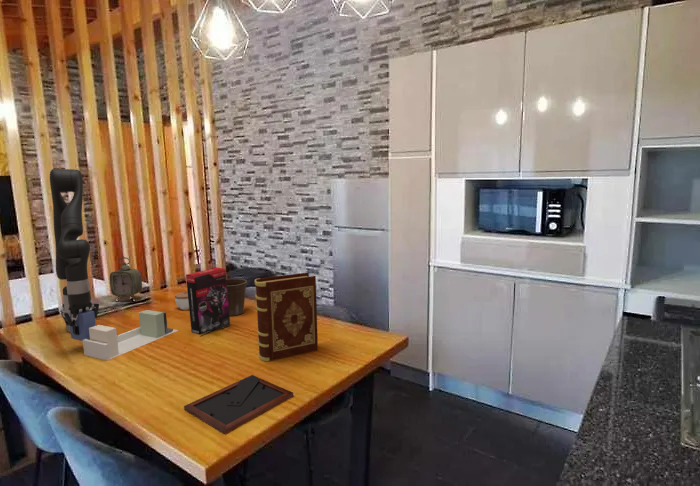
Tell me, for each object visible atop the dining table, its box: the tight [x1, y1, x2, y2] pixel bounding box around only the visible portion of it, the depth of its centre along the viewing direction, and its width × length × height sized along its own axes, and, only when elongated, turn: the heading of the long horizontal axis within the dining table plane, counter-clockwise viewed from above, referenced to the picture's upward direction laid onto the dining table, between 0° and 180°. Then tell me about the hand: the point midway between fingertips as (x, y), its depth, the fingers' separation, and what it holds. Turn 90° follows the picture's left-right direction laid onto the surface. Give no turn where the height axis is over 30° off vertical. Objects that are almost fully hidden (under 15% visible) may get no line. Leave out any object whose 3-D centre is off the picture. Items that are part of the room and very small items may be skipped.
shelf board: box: [82, 326, 179, 361], centre depth 174 cm, size 13×34×7 cm, turn 155°
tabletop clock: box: [109, 256, 143, 298], centre depth 238 cm, size 14×9×25 cm, turn 80°
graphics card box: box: [185, 267, 231, 337], centre depth 187 cm, size 17×7×27 cm, turn 147°
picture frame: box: [183, 374, 294, 435], centre depth 127 cm, size 20×2×25 cm
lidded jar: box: [174, 290, 189, 311], centre depth 223 cm, size 11×11×9 cm
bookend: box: [151, 309, 174, 333], centre depth 185 cm, size 9×4×9 cm, turn 65°
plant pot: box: [226, 278, 248, 317], centre depth 213 cm, size 16×16×16 cm
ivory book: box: [89, 324, 119, 358], centre depth 161 cm, size 10×4×10 cm, turn 65°
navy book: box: [69, 309, 96, 342], centre depth 166 cm, size 9×4×11 cm, turn 65°
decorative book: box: [254, 272, 319, 362], centre depth 161 cm, size 22×8×30 cm, turn 117°
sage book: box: [138, 309, 165, 339], centre depth 181 cm, size 10×4×10 cm, turn 65°
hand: (83, 332), depth 166 cm, fingers closed on navy book, 4 cm apart
